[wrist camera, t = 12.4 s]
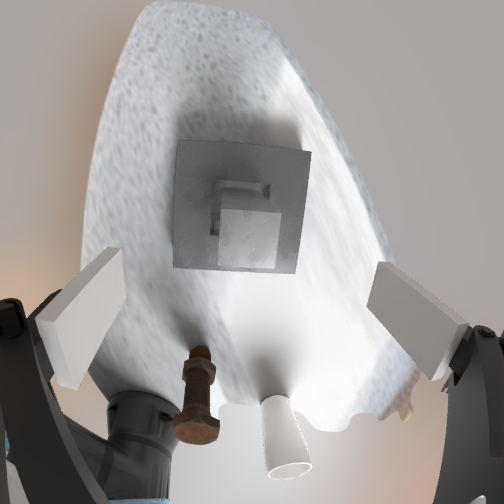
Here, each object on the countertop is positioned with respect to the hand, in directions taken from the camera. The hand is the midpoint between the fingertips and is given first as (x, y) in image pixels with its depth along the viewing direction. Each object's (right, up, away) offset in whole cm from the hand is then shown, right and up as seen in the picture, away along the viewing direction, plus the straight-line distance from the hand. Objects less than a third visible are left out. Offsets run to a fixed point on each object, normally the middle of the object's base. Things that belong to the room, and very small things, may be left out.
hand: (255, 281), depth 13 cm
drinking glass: (+4, -25, +31) cm, 41 cm away
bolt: (-8, -13, +26) cm, 30 cm away
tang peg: (-2, +7, +19) cm, 20 cm away
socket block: (-2, +7, +19) cm, 21 cm away
